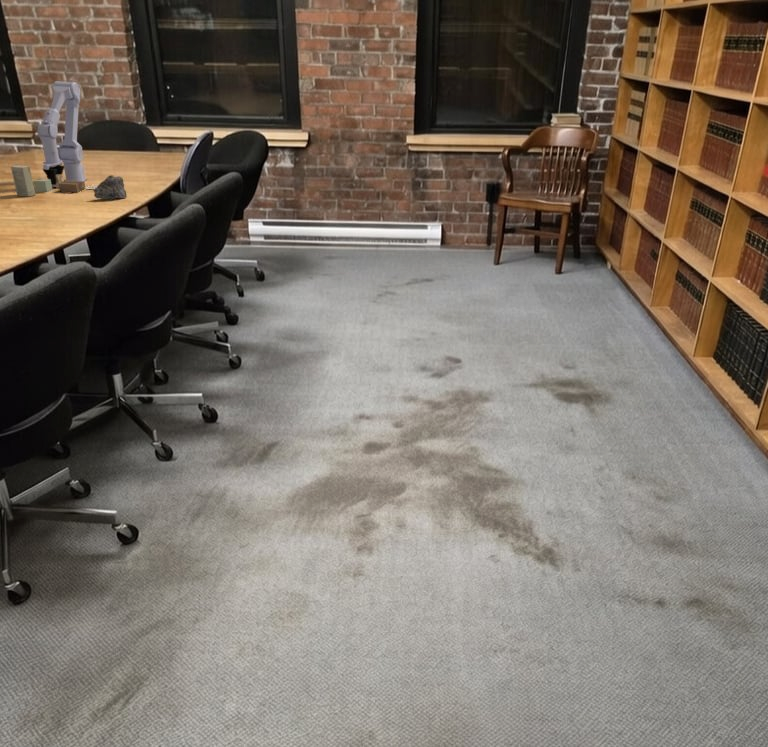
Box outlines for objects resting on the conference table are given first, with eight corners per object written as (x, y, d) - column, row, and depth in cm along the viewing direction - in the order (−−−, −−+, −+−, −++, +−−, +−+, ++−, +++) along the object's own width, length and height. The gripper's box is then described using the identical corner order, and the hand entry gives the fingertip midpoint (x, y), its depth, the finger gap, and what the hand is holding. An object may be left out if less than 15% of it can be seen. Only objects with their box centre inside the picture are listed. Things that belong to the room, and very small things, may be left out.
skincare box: (36, 195, 285) (30, 166, 279) (28, 197, 281) (23, 167, 275) (23, 193, 286) (18, 164, 281) (16, 195, 282) (10, 166, 277)
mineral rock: (94, 201, 279) (91, 177, 275) (95, 196, 288) (91, 173, 284) (127, 201, 283) (124, 177, 279) (126, 195, 292) (123, 172, 288)
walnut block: (68, 189, 300) (67, 180, 298) (85, 190, 300) (84, 181, 298) (59, 192, 293) (58, 183, 291) (77, 193, 292) (76, 184, 291)
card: (91, 185, 309) (91, 184, 308) (106, 185, 309) (106, 184, 308) (82, 189, 300) (82, 188, 299) (97, 190, 300) (97, 188, 299)
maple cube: (54, 185, 303) (52, 174, 301) (64, 185, 303) (62, 174, 301) (48, 187, 299) (46, 175, 297) (59, 187, 299) (57, 176, 297)
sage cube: (41, 190, 295) (39, 178, 292) (52, 190, 295) (50, 179, 292) (35, 192, 290) (33, 180, 288) (47, 192, 290) (45, 181, 288)
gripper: (49, 149, 301) (54, 179, 307) (34, 154, 288) (39, 185, 294) (65, 150, 301) (70, 180, 307) (50, 155, 288) (55, 186, 294)
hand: (56, 183), depth 301 cm, fingers closed on maple cube, 5 cm apart
